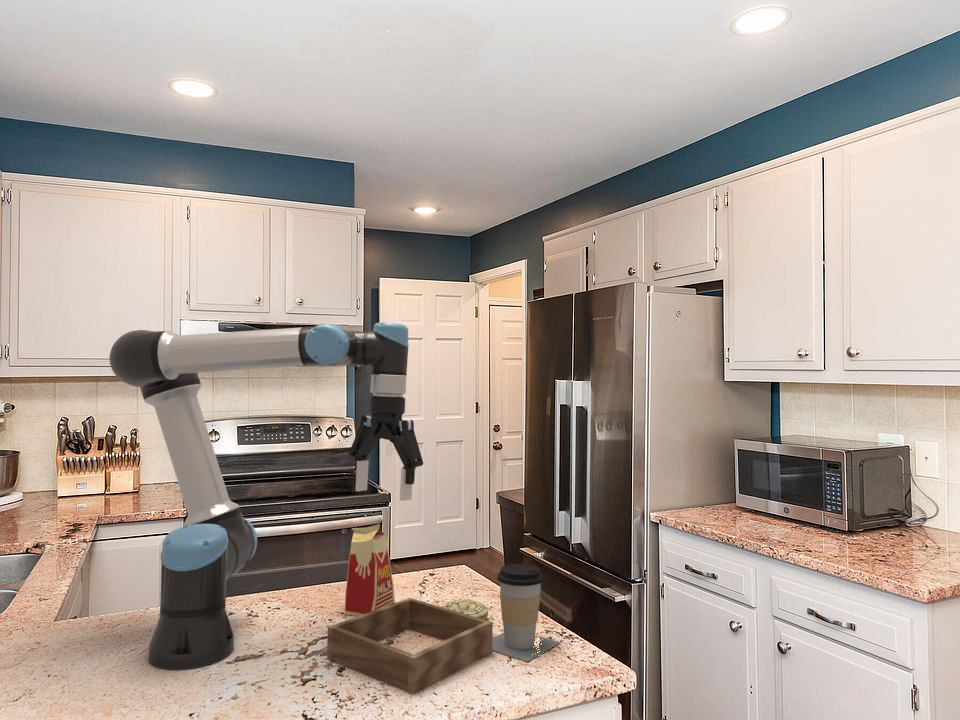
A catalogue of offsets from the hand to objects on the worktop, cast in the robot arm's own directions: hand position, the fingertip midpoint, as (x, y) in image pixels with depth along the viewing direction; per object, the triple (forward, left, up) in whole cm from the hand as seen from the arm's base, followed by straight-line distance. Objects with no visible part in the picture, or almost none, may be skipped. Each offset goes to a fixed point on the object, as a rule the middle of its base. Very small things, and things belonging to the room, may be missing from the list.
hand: (382, 495), depth 143 cm
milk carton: (+7, +11, -29) cm, 31 cm away
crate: (-5, -14, -29) cm, 32 cm away
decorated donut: (+16, -10, -29) cm, 34 cm away
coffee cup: (+13, -27, -29) cm, 41 cm away
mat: (+13, -27, -29) cm, 41 cm away
